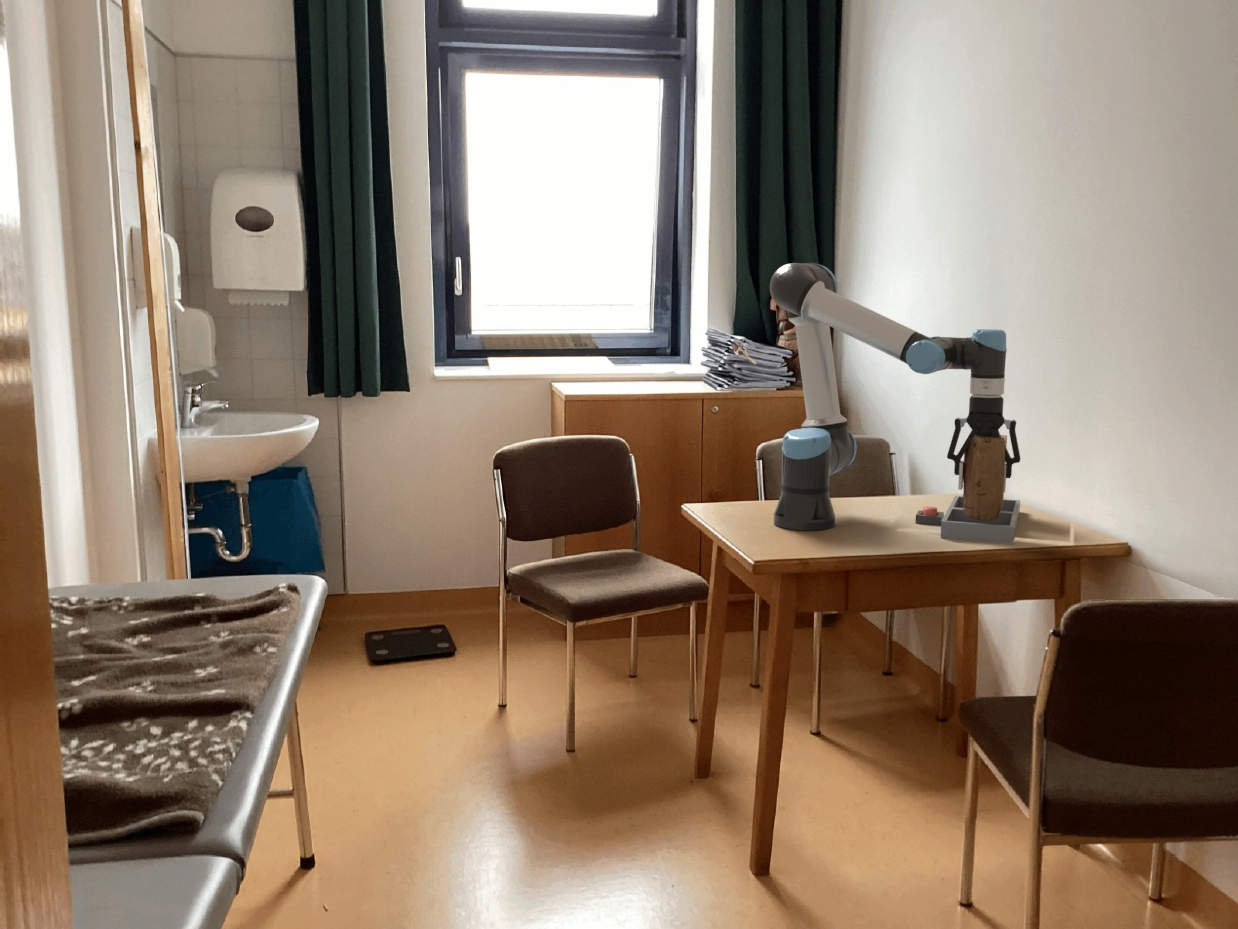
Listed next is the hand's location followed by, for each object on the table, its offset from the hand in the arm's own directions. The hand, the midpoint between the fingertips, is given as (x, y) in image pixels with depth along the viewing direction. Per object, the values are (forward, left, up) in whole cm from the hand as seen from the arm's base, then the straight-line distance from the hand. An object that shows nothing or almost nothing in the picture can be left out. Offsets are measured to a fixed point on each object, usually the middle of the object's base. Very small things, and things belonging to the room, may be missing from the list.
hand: (981, 490), depth 249 cm
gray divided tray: (0, +8, -11) cm, 13 cm away
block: (0, 0, -7) cm, 7 cm away
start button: (-12, +4, -10) cm, 16 cm away
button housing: (-12, +4, -11) cm, 17 cm away
